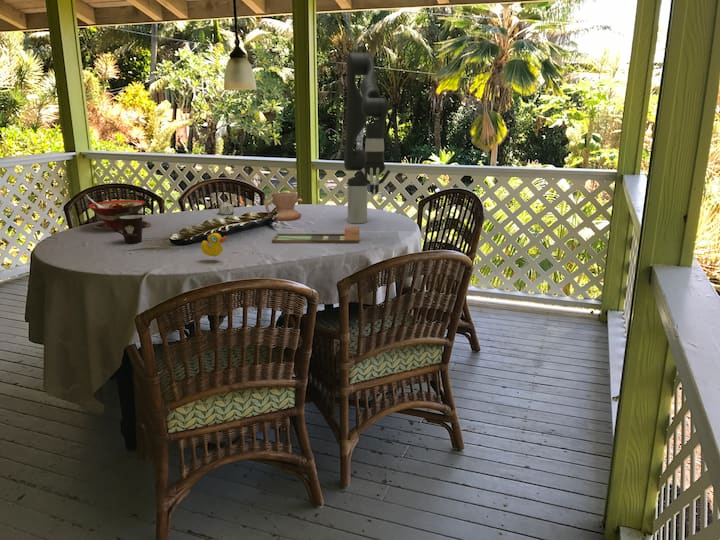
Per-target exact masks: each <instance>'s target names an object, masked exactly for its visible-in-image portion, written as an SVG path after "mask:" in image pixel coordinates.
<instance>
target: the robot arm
mask: <svg viewBox="0 0 720 540" xmlns="http://www.w3.org/2000/svg"><path fill="white" fill-rule="evenodd" d="M375 69H376V68H375V63H374V57H373V56H372V54H371V53H370V52H358V51H357V52H354V51H353V52H349V53H348V54H347V57H346V107H345V108H346V109H345V143H344V144H345V145H344V158H343V163H344V169H345V170H346V171H358V174H357V175H355V176H353V177H350V178H348V179H347V223H350V224H366V223H367V222H368V185H369V191H370V193H371V195H378V193H379V192H380V191H379V185H381V184H383V183H384V182H385V181H386V179H387V178H388V176H389V175H390V173H391V171H390V169H387V168H386V166H385V141H384V138H385V137H384V136H385V133H384V131H385V123H386V119H387V116H388V113H389V108H390V107H389V106H390V105H389V101H388V100H387V99H386V98H384V97H381V92H380V89H379V86H378V84H377V80H376V79H377V78H376V76H377V75H376V70H375ZM356 76H364V78H363V79H362V80H361V82H360V87H359V88H358V86H357V84H356V83H357V82H356V78H355V77H356ZM359 89H360V90H359ZM368 117H370V118H371V117H374V118H377V120H376V121H374V122H369V123H367V121H368V120H367V118H368ZM365 125H366V126H365ZM364 127H365V145H364V149H353V147H354V144H355V142H356V140H357V138H358V137H359V135H360V134H361V132H362V131H363V129H364ZM382 173H383V176H382V177H381V178H380V176H381V174H382ZM368 176H369V178H368ZM374 177H375V184H374Z"/></svg>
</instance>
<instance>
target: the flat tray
mask: <svg viewBox="0 0 720 540" xmlns="http://www.w3.org/2000/svg"><path fill="white" fill-rule="evenodd" d="M312 236H324V237H323V240H310V239H311V237H312ZM328 236H340V240H328ZM359 243H360V239H359V240H345V233H276V234H275V236H273V238H272V239H271V244H359Z"/></svg>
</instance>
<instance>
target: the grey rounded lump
mask: <svg viewBox="0 0 720 540" xmlns="http://www.w3.org/2000/svg"><path fill="white" fill-rule="evenodd" d="M235 206H236V204H232V203H230V202H228V201H227V199H225V200H224V202H222V203H221V204H219V205H218V206H217V207H218V213H217V215H221V216H230V215H232V216H233V215H234V213H235V212H234V207H235Z"/></svg>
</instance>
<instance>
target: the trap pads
mask: <svg viewBox="0 0 720 540" xmlns="http://www.w3.org/2000/svg"><path fill="white" fill-rule="evenodd" d="M323 237H324V236H312V237H311V239H310V240H323ZM328 240H340V236H328Z"/></svg>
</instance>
